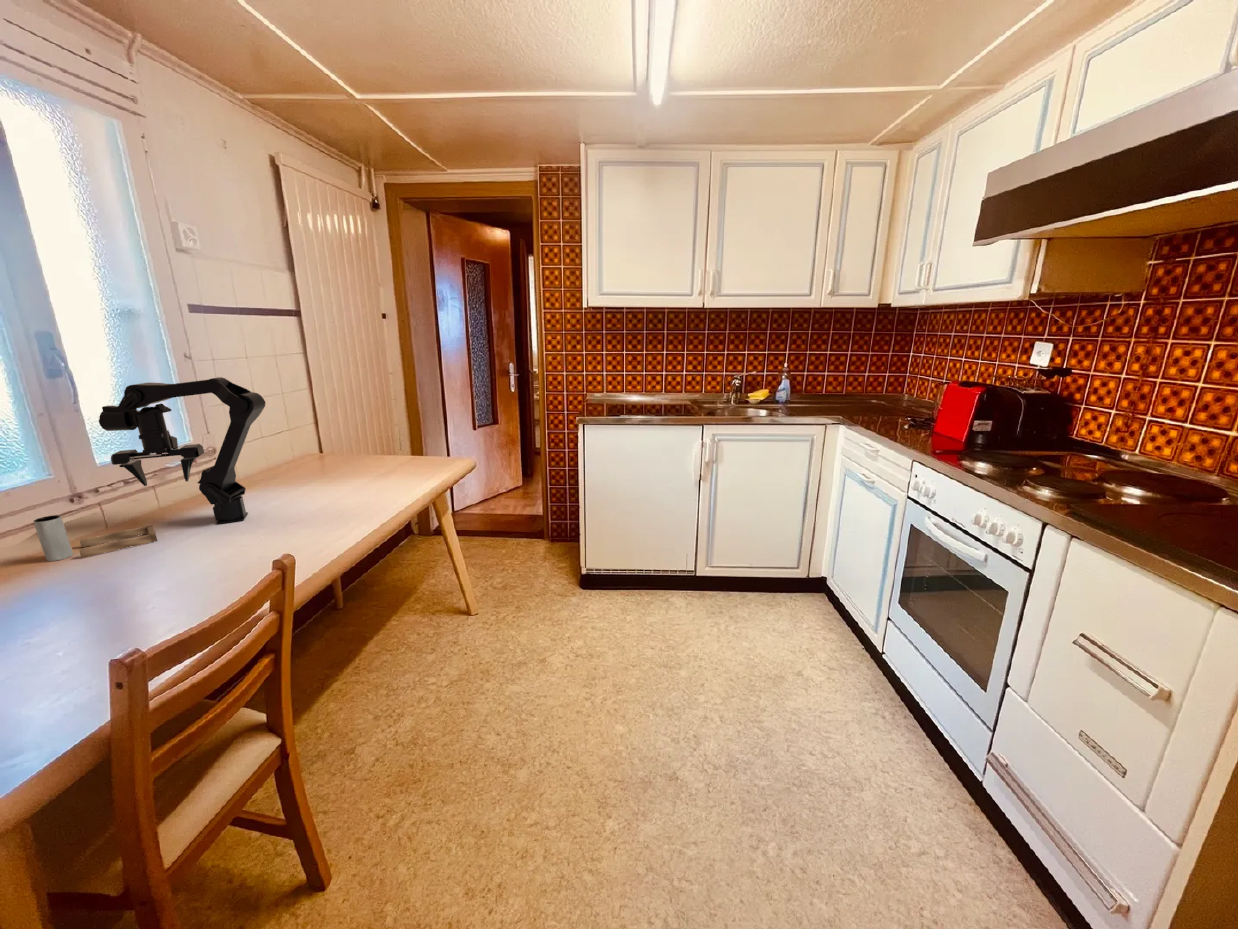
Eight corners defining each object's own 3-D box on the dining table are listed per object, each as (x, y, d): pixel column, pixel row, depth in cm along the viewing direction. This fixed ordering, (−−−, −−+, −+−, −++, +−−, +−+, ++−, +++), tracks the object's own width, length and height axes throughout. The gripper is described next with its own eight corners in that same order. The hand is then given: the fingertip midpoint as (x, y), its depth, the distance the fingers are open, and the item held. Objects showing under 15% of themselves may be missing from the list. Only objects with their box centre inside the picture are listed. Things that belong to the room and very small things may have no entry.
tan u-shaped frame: (154, 531, 139) (152, 524, 139) (157, 541, 133) (155, 534, 132) (81, 547, 130) (79, 539, 129) (81, 558, 123) (79, 551, 122)
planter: (55, 562, 121) (42, 522, 118) (41, 560, 122) (27, 521, 119) (78, 554, 125) (66, 515, 123) (64, 552, 126) (52, 514, 124)
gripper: (203, 421, 149) (215, 472, 153) (120, 427, 141) (135, 480, 145) (191, 428, 139) (204, 481, 143) (102, 434, 131) (118, 491, 136)
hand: (166, 483), depth 142 cm, fingers open, 9 cm apart
